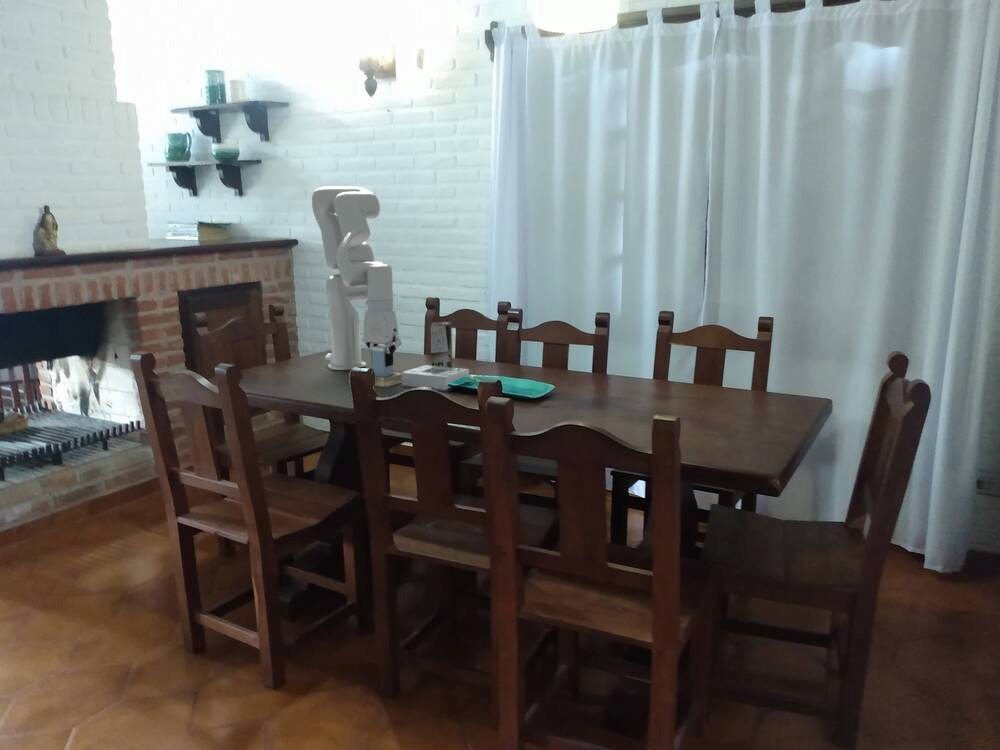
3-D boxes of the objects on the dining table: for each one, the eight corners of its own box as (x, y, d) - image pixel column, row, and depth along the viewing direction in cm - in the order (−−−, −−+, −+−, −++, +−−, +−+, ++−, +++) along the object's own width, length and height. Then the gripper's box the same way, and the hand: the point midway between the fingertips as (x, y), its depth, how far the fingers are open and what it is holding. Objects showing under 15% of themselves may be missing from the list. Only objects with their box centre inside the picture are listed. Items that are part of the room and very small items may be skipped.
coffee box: (451, 374, 245) (449, 325, 242) (431, 375, 245) (429, 325, 242) (453, 369, 254) (452, 321, 251) (434, 369, 254) (432, 321, 251)
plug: (372, 375, 233) (371, 346, 231) (381, 373, 237) (380, 344, 235) (384, 377, 231) (383, 348, 229) (392, 374, 235) (392, 345, 233)
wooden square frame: (363, 384, 232) (363, 376, 232) (381, 378, 240) (381, 371, 239) (386, 387, 228) (386, 378, 228) (404, 381, 236) (403, 373, 235)
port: (401, 385, 230) (401, 371, 229) (426, 377, 241) (425, 363, 240) (446, 390, 223) (445, 375, 222) (469, 382, 234) (469, 368, 233)
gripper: (350, 305, 230) (353, 364, 234) (395, 308, 222) (397, 370, 226) (366, 302, 236) (368, 360, 241) (410, 305, 229) (412, 365, 233)
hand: (382, 364), depth 233 cm, fingers closed on plug, 4 cm apart
